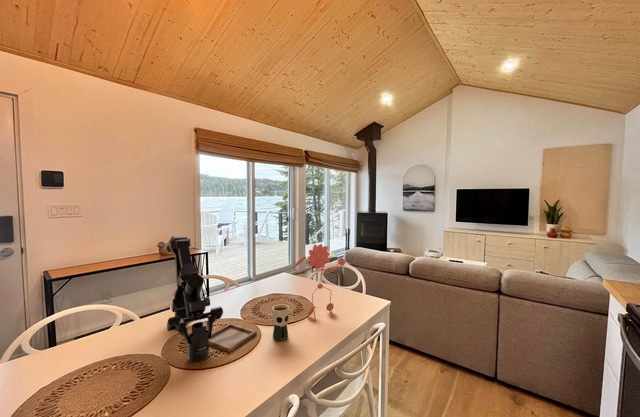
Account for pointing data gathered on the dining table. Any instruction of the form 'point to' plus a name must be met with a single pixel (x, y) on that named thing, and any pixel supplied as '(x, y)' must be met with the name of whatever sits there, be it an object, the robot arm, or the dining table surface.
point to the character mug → (280, 321)
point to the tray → (230, 337)
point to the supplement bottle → (198, 342)
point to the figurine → (318, 260)
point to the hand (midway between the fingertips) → (199, 341)
